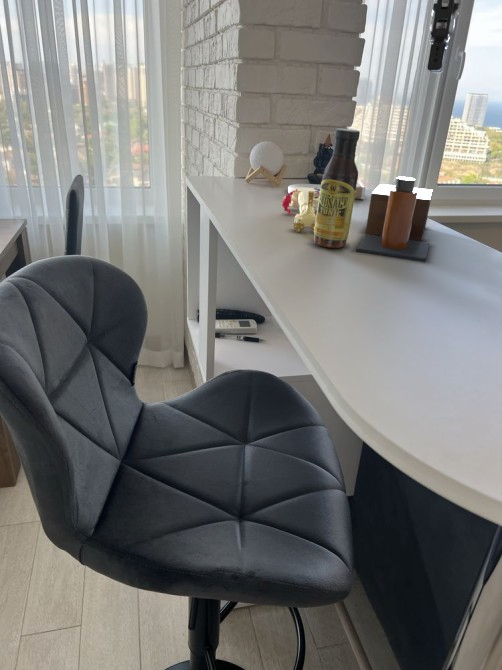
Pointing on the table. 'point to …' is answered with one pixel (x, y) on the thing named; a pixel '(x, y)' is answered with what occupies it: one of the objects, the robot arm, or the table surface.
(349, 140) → the sauce bottle
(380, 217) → the brown open box
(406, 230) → the spice bottle
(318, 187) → the record player
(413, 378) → the table surface
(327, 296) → the table surface
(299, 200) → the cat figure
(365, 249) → the mat
